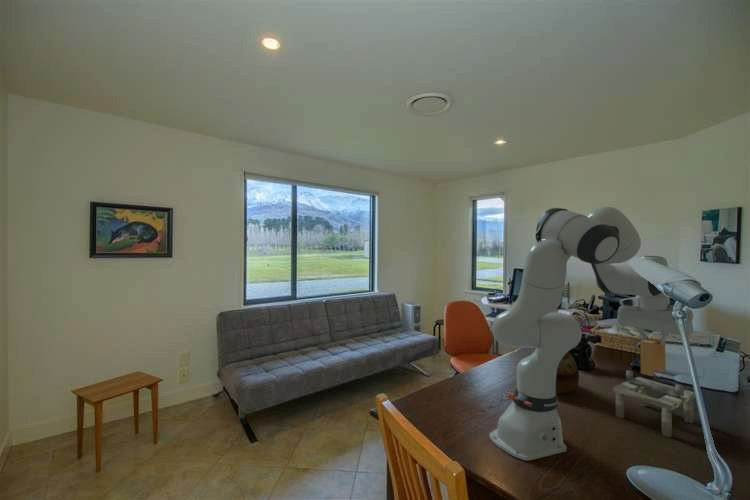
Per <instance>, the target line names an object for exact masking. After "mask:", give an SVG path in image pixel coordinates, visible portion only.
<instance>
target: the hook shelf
mask: <svg viewBox="0 0 750 500" xmlns="http://www.w3.org/2000/svg"><path fill="white" fill-rule="evenodd" d="M625 376H626V377H625V380H626V381H625V382H622V383H619V384H616V385H614V386H613V392H614V393H615V416H616V417H618V418H620V419H624V418H625V396H627V397H630V398H632V399H636V400H638V401H637V403H638V406H640V407H644V408H645V407H647V406H648V404H651V405H653V406H656V407H659V408H661V435H663V437H667V438H671V437H672V436H673V423H672V422H673V416H672V415H673V414H672V413H673V410H675V409H677V408H679V407H680V406H683V421H684V423H685V422H686V423H688V422H689V424H694V423H693V422H694V418H695V417H694V416H695V415H694V399H695V394H696V393H695V392H693V391H690V390H686V389H685V387H684V385H682V384H675V386H672V385H669V384H665V383H661V382H659V381H655V380H652V379H648V378H644V377H642V376H637V377H635V378H634V372H633V370H632V371H631V370H626V371H625ZM648 389H649V390H652V391H655V392H658V393H662V394H664V396H662V397H660V398H656V397H652V396H650V395H648V393H647V392H648V391H647V390H648ZM694 393H695V394H694Z"/></svg>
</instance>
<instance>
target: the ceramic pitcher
mask: <svg viewBox="0 0 750 500" xmlns="http://www.w3.org/2000/svg"><path fill="white" fill-rule="evenodd" d="M534 351H535V350H534V349H533V351H532V352H531V353H530V355H531V354H532V353H533V352H534ZM579 380H580V373H579V369H578V368H577V365H576V362H575V360H574V359H573V357H572V356H571V354H570V353H569V352H567V353H566V354H565V355H564V357H563V358H562V359H561V361H560V363H559V365H558V368H557V373H556V394H567V393H571V392H574V391H575V390H576V389H577V388H578V386H579Z"/></svg>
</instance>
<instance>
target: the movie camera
mask: <svg viewBox="0 0 750 500" xmlns="http://www.w3.org/2000/svg"><path fill="white" fill-rule="evenodd" d="M581 332H582V336H581V340H580V342H579V343H578V345H577V346H576V347H574V348H572V349H571V350H569V351H568V352H569V353H570V354H571V356H572V357H573V359H574V360H575V362H576V365H577V368H578V370H579V369H580V370H583V371H594V370H595V369H596V368H595V367H596V364H595V360H594V358H592V354H593V349H592V346H591V344H589V342H590V343H592V344H594V345H595V344H599V343H600V344H601V343H602V342H603V341H602V335H599V334H596V333H594V332H588V331H587V332H583V331H581ZM535 349H536V348H533V351H534V350H535Z"/></svg>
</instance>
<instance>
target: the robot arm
mask: <svg viewBox="0 0 750 500" xmlns="http://www.w3.org/2000/svg"><path fill="white" fill-rule="evenodd" d="M535 231H536V232H535V240H536V243H535V244H533V245H532V246H531V247H530V248H529V250H528V253H527V255H526V258H525V260H524V261H525V262H524V266H523V272H522V276H521V277H522V278H521V283H520V290H519V293H518V297H517V299H516V300H515V301H514V303H513V304H512V305H511V306H510V307H509V308H507V309H506V310H504V311H502V312H501V313H498V314H497V315H496V316H495V317H494V319H493V320H492V324H491V331H492V335H493V338H494V339H495V341H496V342H497V343H498V344H500V345H504V346H508V347H513V348H521V349H522V348H523V349H524V348H525V349H526V348H527V349H534V348H536V349H535V351H534V350H533V351H534V352H533V351H532V352H533V353H532V352H531V353H532V354H531V353H530V355H528V356H526V357H523V358H521V360H520V361H519V362H518V363H517V365H516V387H515V390H514V393H512V392H510V391H509V392H508V393H507V394H506V395H507V396H506V397H507V398H508V399H509V400H512V402H511V403H510V404H509V406H508V407H507V408H506V410H505V411H504V412H503V413H502V414H501V415H500V417H499V418H498V421H497V422H498V423H497V428H495V429H494V430H492V431H491V432H490V433H489V439H490V441H491V442H492V443H493V444H494V445H495V446H497V447H498V448H500V449H501V450H502V451H504V452H505V453H507V454H508V455H511V456H512V457H515V458H517V459H519V460H523V461H526V462H527V461H533V460H537V459H540V458H541V459H542V458H545V457H549V456H553V455H556V454H561V453H565V452H567V451H568V450H567V445H566V444H565V443H564V438H563V429H562V420H561V418H560V415H559V413H558V410H557V408H558V406H559V405H558V403H559V399H558V393H556V373H557V368H558V365H559V363H560V361H561V359H562V358H563V357H564V355H565V354H566V353H567V352H568V351H569V350H571V349H572V348H574V347H576V346H577V345H578V343H579V342H580V340H581V336H582V332H583V331H582V329H581V325H580V323H579V321H577V319H575V318H574V317H573V316H571V315H566V314H562V313H556V312H554V311H556V310H557V309H559V306H560V305H561V303H562V300H563V299H562V298H563V293H564V289H565V285H566V284H565V282H566V278H567V263H568V261H569V259H570V258H571V257H574V258H577V259H579V261H581V262H584V263H587V264H590V265H591V268H592V271H593V273H594V276H595V279H596V280H595V281H596V285H597V287H598V288H599V289H600V290H601V292H603V293H604V294H613V295H615V294H616V295H617V294H619V295H631V297H627V298H622V299H620V300H619V305H620V306H619V307H618V309H617V318H616V321H617V323H618V324H619V325H620V326H621V325H622V326H626V327H632V328H637V329H636V330H637V332H638V334H639V336H641V340H640V341H643V340H646V339H650V336H649V335H646V333H645V331H646V330H648V331H655V332H660V335H661V337H658V338H659V339H657V344H659V345H665V346H666V339H667V338H668V337H669V336H670V334H671V335H675V336H676V335H678V336H682V335H681V334H680V331H679V329H678V326H677V323H676V322H675V321H674V319H673V317H672V309H673V307H674V305H673V304H670V303H671V300H670V298H668V297H667V296H666V295H664V294H663V293H662V292H661V291H659V290H658V289H657V288H656V287H655V286H654V285H653V284H651V283H650V282H649V281H647V280H646V279H644V278H643V277H641V276H640V275H639V274H638V273H636V272H635V271H634V270H633V269H632V268H631V265H613V264H622V263H625V262H627V261H630V260H631V259H632V258H634V257H635V256H637V254H638V252H639V251H640V249H641V243H642V240H641V237H640V234H639V232H638V231H637V229H636V228H635V225H634V224H633V223H632V222H631V220H630V219H629V218H628V217H627V216H626V215H625V214H624V213H623V212H621V211H620V210H619V209H617V208H615V207H612V206H601V207H598V208H595V209H594V210H592V211H591V212H589V213H588V214H587V216H586V215H585V214H582V213H579V212H574V211H571V210H568V209H566V208H561V207H552V208H549V209H547V210H546V211H545V212H543V213H542V214H541V215H540V217H539V218H538V221H537V224H536V229H535ZM639 257H640V258H645V259H647V260H651V261H653V262H656V263H659V264H661V265H664V266H666V267H668V268H669V265H668V260H667V258H665V257H663V256H658V255H657V256H656V255H642V256H639ZM686 312H687V315H688V316H687V318H686V320H685V324H686V329H687V335H688V336H691V335H693V333H694V325H693V318H694V313H693V311H692V310H691V309H690V308H688V307H687V309H686ZM688 336H687V337H688ZM660 338H661V339H660Z"/></svg>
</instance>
